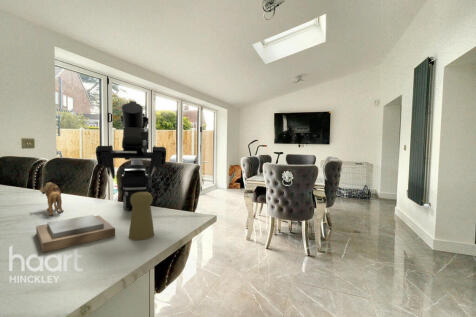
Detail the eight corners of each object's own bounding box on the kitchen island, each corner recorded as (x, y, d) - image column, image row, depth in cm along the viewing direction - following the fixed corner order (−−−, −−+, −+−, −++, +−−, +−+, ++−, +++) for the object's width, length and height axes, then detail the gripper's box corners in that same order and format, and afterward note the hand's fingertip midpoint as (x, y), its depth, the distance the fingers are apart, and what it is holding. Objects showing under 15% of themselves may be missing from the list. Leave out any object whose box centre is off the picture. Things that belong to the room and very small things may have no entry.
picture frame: (99, 222, 70) (98, 211, 69) (115, 235, 60) (115, 224, 59) (36, 233, 60) (36, 222, 60) (43, 252, 50) (42, 238, 50)
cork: (159, 233, 62) (159, 191, 62) (142, 241, 56) (143, 195, 56) (140, 229, 64) (140, 189, 63) (122, 238, 58) (122, 193, 58)
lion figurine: (39, 208, 82) (38, 182, 82) (58, 205, 86) (57, 181, 86) (50, 217, 73) (50, 188, 73) (71, 213, 77) (70, 186, 77)
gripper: (96, 117, 67) (88, 156, 57) (165, 121, 74) (169, 156, 64) (101, 146, 74) (94, 185, 64) (163, 147, 81) (166, 183, 71)
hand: (132, 177), depth 66 cm, fingers open, 9 cm apart
